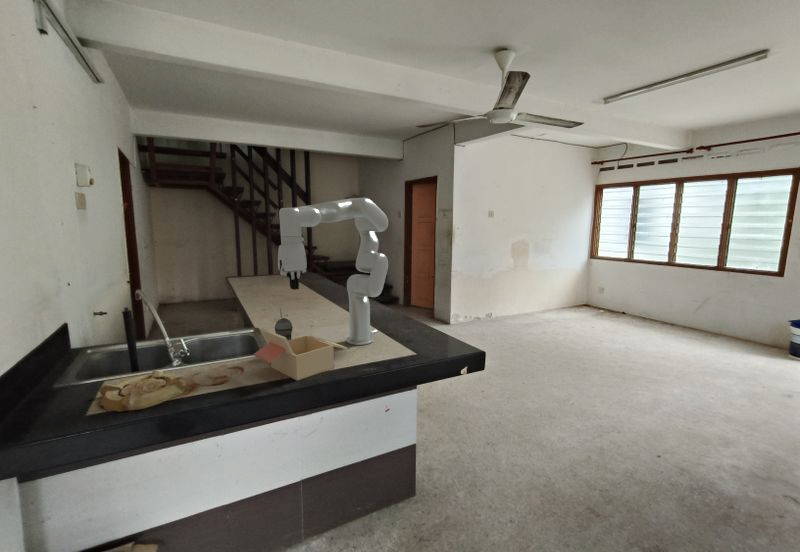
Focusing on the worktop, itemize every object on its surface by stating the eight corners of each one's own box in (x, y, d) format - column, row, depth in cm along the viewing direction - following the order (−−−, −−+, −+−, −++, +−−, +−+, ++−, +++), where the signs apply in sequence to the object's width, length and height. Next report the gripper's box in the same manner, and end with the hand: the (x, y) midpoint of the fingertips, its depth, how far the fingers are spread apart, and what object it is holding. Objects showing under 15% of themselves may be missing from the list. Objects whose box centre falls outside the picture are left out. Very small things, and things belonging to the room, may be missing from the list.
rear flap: (347, 347, 148) (346, 349, 148) (322, 338, 159) (321, 340, 159) (333, 344, 143) (333, 346, 143) (308, 335, 154) (308, 337, 154)
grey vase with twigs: (288, 358, 153) (286, 310, 151) (272, 357, 155) (270, 309, 152) (296, 352, 160) (295, 306, 158) (281, 351, 162) (279, 305, 159)
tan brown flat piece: (185, 374, 137) (184, 361, 137) (189, 399, 117) (188, 384, 117) (103, 389, 125) (101, 375, 124) (92, 420, 105) (90, 403, 104)
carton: (307, 356, 155) (306, 335, 154) (333, 368, 143) (333, 345, 142) (271, 367, 143) (270, 344, 142) (297, 380, 131) (296, 355, 130)
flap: (262, 328, 138) (243, 340, 134) (285, 337, 127) (266, 351, 122) (269, 343, 141) (252, 356, 137) (293, 353, 130) (275, 368, 125)
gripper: (302, 239, 149) (305, 284, 152) (268, 242, 138) (271, 290, 141) (314, 240, 144) (316, 287, 147) (278, 242, 133) (282, 293, 136)
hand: (294, 288), depth 144 cm, fingers closed
